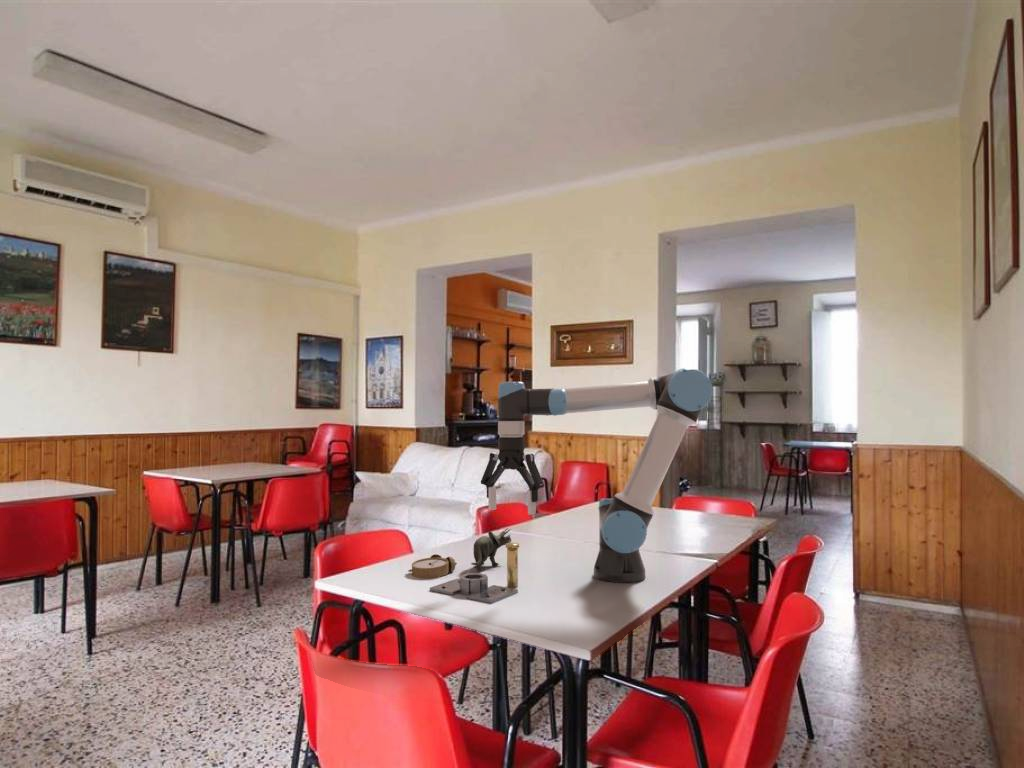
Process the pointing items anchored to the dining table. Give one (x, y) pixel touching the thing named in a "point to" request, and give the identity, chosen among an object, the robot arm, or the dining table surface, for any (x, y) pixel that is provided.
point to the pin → (512, 565)
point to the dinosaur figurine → (489, 548)
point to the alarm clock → (432, 567)
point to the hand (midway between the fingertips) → (511, 511)
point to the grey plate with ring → (474, 588)
